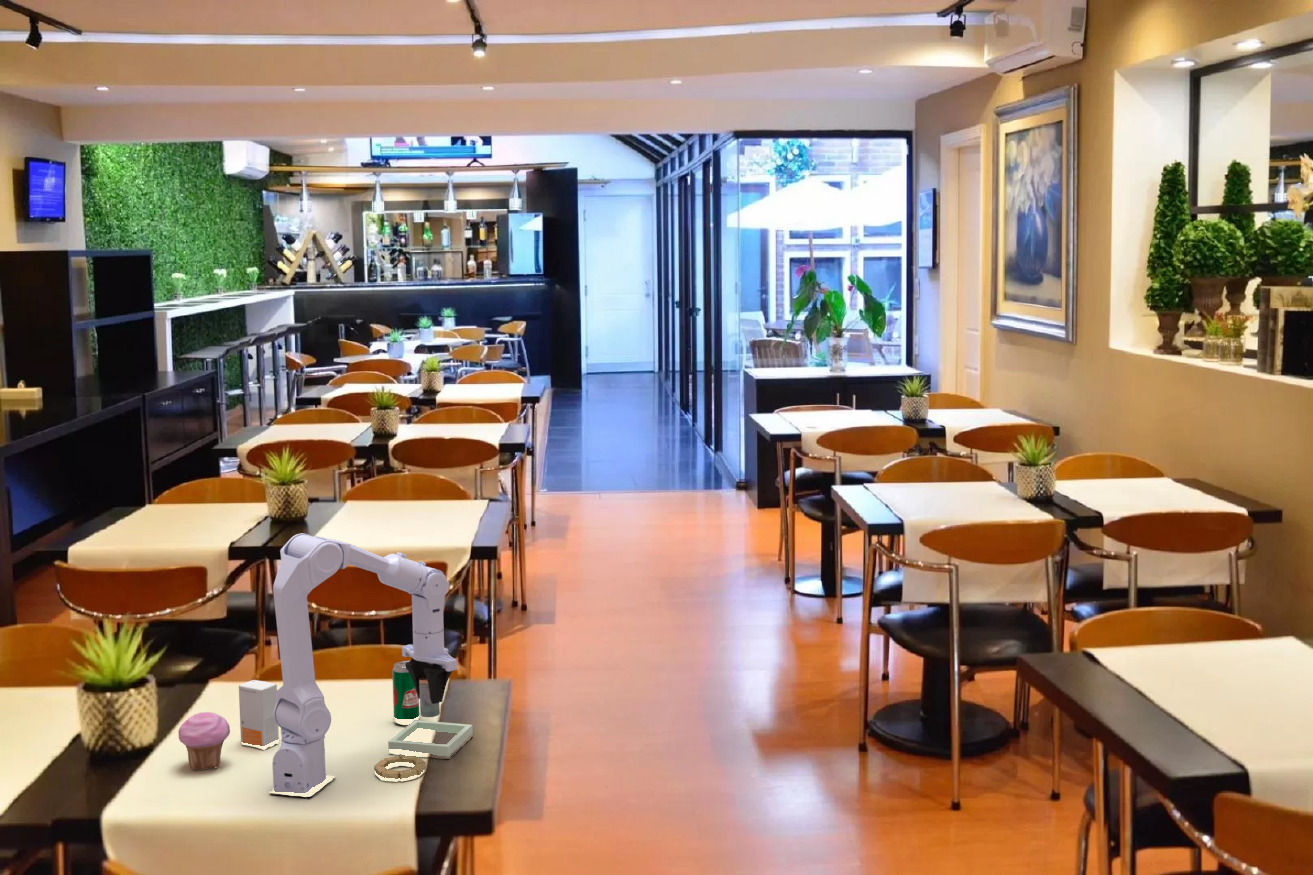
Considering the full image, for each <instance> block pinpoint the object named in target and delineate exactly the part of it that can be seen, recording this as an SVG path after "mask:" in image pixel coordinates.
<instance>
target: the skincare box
mask: <svg viewBox="0 0 1313 875" xmlns="http://www.w3.org/2000/svg"><path fill="white" fill-rule="evenodd" d="M277 686H278V685H277V684H276V683H273V682H268V681H265V680H264V681H263V680H257V679H252V680H249V681H245V682H243V683H241V684H239V685H238V700H239V721H240V722H239V725H240V726H239V727H240V728H239V729H240V743H241V742H243V743H248V744H252V745H260V746H265V745H267V744H269V743H271V742H273V741H275V740H278V739H279V740H280V732H279V730H280V729H279V726H278V725H277V724H276V723H275V721H274V716H273V712H274V708H275V705H276V700H277V697H276V692H277V690H278V687H277Z"/></svg>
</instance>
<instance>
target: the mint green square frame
mask: <svg viewBox="0 0 1313 875" xmlns="http://www.w3.org/2000/svg"><path fill="white" fill-rule="evenodd" d="M473 727H474V726H473V724H468V723H467V724H464V723H455V722H454V723H453V722H442V721H430V720H420V719H419V720H414V721H413V722H412V723H411V724H409V725H408V726H405V727H404V728H403V729H402V730H401V731H399V732H398V733H396V735H394V736H393V737H392V738H391V739H389V740H388V742H387V743H388V744H387V746H388V749H402V750H409V751H414V752H415V751H416V752H422V753H429V754H433V755H437V756H446V757H449V756H450V755H451V753H453V752H454V751H455V750H456V749H458V748H459V746H460V745H462V744H463V742H464V741H465V740H467V739H468V737H469V736H471V735H472V734H473V733H474V730H473V729H474V728H473ZM417 728H423V729H431V730H435V731H437V732H448V733H456V734H457V735H455V736H454V737H453V738H452V739H451V740H450V741H449V742H448V743H447V744H435V743H423V742H412V741H403V740H404V739H405V738H406V737H407V736H409V735H410V734H411V733H412V732H414V731H415V730H416V729H417ZM473 735H474V734H473Z"/></svg>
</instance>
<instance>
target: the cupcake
mask: <svg viewBox="0 0 1313 875" xmlns="http://www.w3.org/2000/svg"><path fill="white" fill-rule="evenodd" d="M177 734H178V740H179V741H180V743H182V744H183V745H184V746H185V748H186V749H187V751H186V752H187V755H188V756H187V757H188V758H187V759H188V765H189V767H190V769H192V770H193V771H200V770H208V769H209V770H210V768H214V769H216V768H215V767H218V766H219V767H220V762H221V754H222V749H223V744H224V742H225V740H226V739H228V737H229V736H230V734H231V728H230V724H229V722H228V721H227V719H226V718H225V717H223V716H221V715H219V714H217V713H215V712H210V711H209V712H208V711H206V712H205V711H204V712H199V713H195V714H193V715H191V716H189V717H188V718H187V719H186V720H185V721H184V722H182V723H181V725H180V726H179V728H178V733H177ZM219 767H218V768H219Z"/></svg>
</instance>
